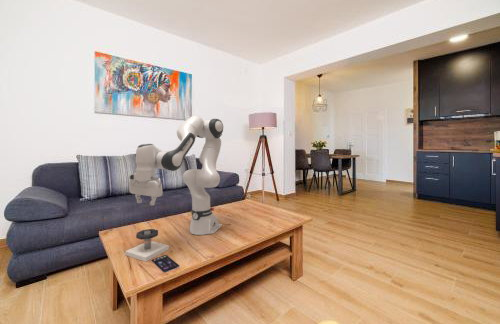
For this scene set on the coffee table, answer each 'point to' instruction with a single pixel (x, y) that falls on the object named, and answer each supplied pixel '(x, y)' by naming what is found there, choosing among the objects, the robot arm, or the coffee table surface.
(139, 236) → the ring
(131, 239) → the coffee table surface
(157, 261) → the smartphone
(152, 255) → the pipe stand
